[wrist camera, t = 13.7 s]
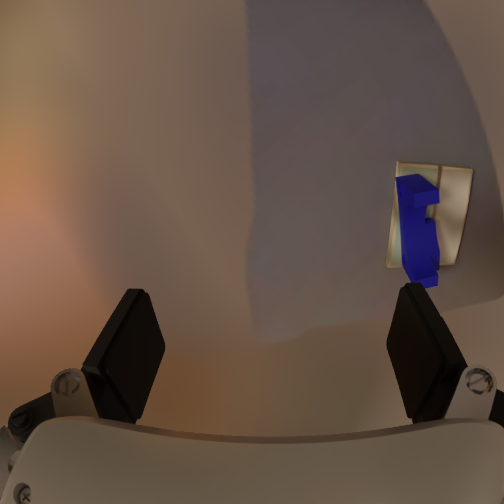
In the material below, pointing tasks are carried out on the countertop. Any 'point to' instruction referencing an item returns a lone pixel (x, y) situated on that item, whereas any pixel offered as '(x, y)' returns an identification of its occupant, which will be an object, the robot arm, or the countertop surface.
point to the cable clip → (418, 229)
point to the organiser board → (435, 208)
